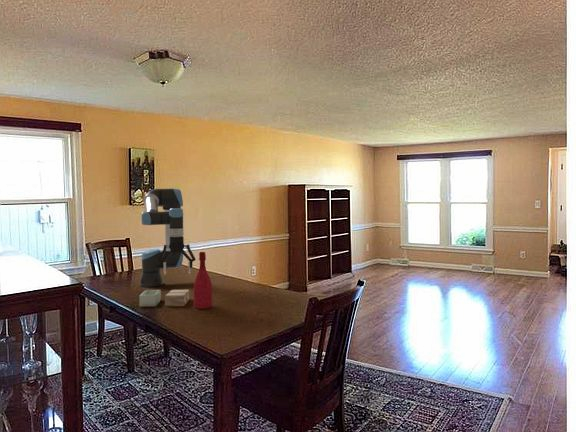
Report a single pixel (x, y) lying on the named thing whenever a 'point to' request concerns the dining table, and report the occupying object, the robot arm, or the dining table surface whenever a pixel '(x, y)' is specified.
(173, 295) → the lid
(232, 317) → the dining table surface
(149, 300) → the dish
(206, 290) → the wine bottle
